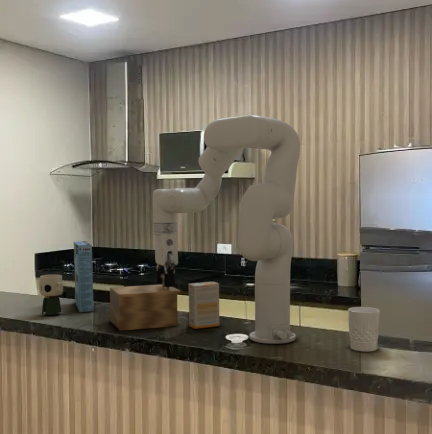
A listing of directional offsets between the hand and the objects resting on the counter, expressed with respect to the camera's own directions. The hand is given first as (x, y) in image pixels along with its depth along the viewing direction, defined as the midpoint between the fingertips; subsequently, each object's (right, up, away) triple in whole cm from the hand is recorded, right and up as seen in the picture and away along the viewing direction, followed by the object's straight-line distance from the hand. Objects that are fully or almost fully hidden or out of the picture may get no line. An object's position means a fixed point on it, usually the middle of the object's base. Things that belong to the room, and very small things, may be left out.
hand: (165, 284), depth 187 cm
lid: (-6, -2, -2) cm, 7 cm away
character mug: (-39, -11, +12) cm, 42 cm away
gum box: (-31, -11, +26) cm, 42 cm away
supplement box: (+12, -12, -7) cm, 18 cm away
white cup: (+53, -13, -34) cm, 65 cm away
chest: (-7, -12, -2) cm, 14 cm away
